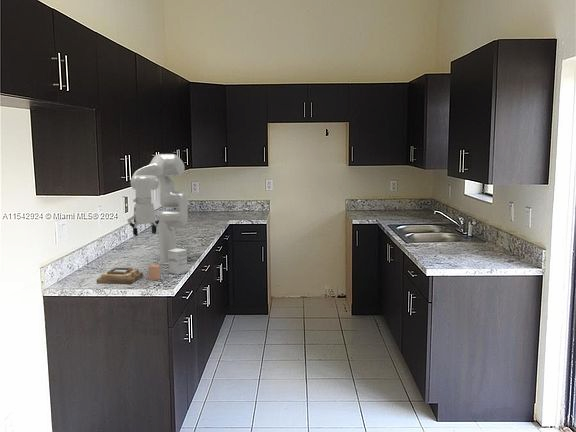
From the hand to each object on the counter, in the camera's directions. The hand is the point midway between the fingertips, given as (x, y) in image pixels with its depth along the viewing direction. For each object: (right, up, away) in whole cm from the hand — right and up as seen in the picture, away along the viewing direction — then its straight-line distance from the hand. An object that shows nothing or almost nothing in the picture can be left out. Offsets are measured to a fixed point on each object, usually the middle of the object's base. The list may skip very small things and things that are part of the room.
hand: (144, 234), depth 268 cm
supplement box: (+12, -22, +21) cm, 33 cm away
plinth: (-14, -24, +6) cm, 28 cm away
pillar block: (+3, -23, +8) cm, 25 cm away
